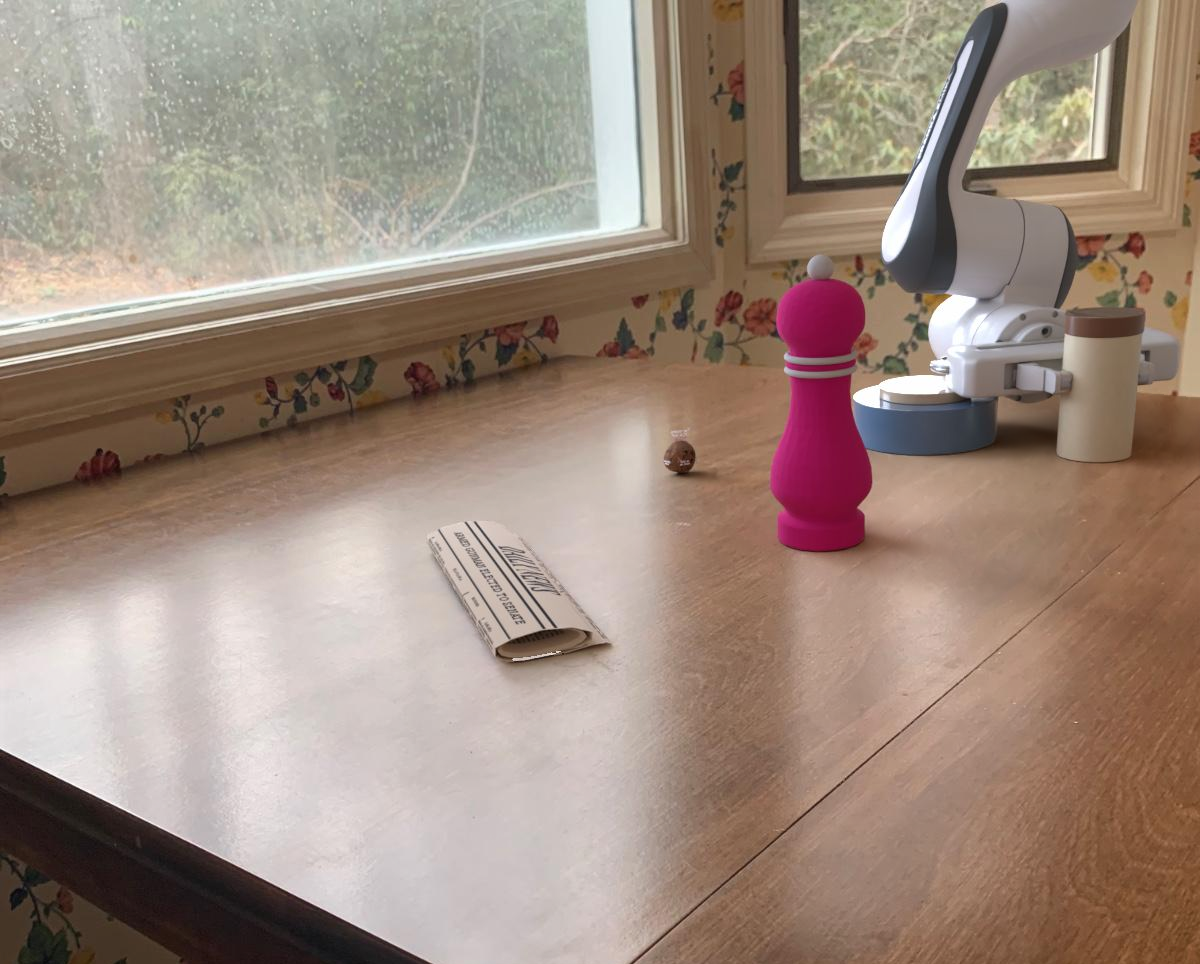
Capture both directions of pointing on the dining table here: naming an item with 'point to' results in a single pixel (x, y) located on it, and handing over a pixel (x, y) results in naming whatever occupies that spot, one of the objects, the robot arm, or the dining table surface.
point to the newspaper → (510, 592)
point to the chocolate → (680, 455)
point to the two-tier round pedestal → (923, 417)
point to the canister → (1100, 383)
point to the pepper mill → (821, 416)
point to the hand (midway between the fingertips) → (1105, 379)
